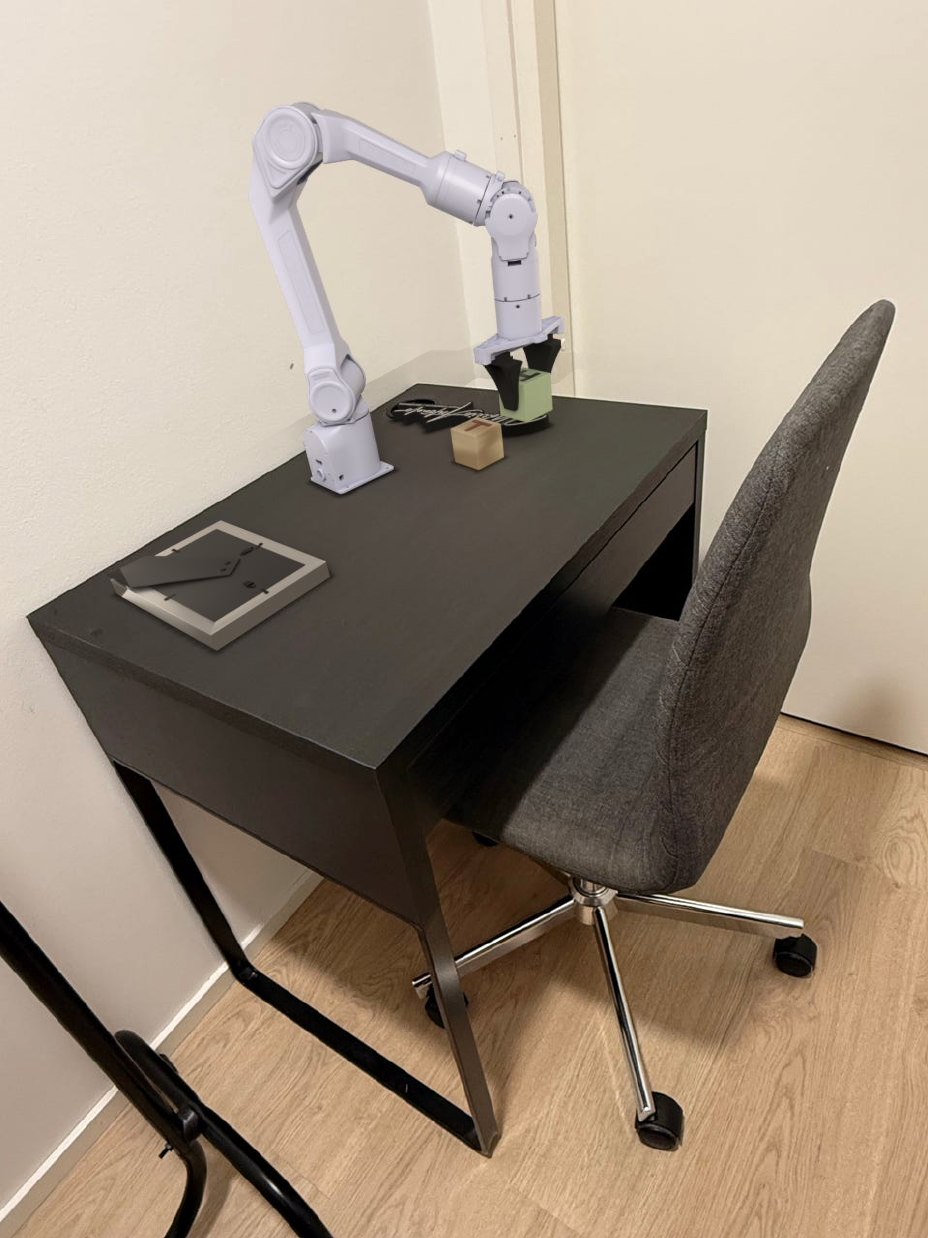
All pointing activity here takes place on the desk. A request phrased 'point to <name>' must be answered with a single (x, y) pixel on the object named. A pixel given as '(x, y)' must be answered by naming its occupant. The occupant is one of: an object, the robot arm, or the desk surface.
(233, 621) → the picture frame
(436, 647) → the desk surface
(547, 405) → the sage block
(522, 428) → the nameplate
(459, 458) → the cream block
